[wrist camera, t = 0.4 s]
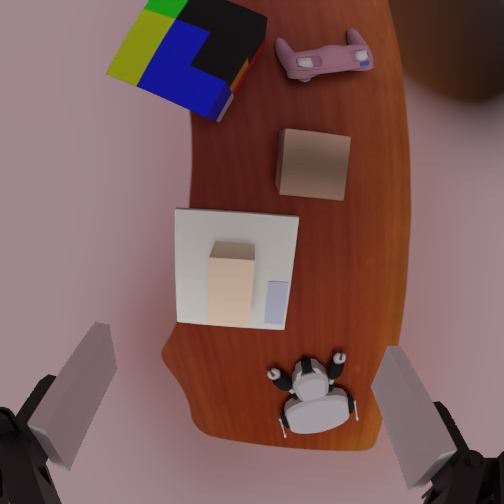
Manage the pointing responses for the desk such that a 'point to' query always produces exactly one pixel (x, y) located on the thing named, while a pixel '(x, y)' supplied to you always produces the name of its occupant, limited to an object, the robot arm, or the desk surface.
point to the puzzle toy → (191, 52)
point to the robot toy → (314, 396)
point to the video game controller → (325, 58)
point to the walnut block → (312, 164)
